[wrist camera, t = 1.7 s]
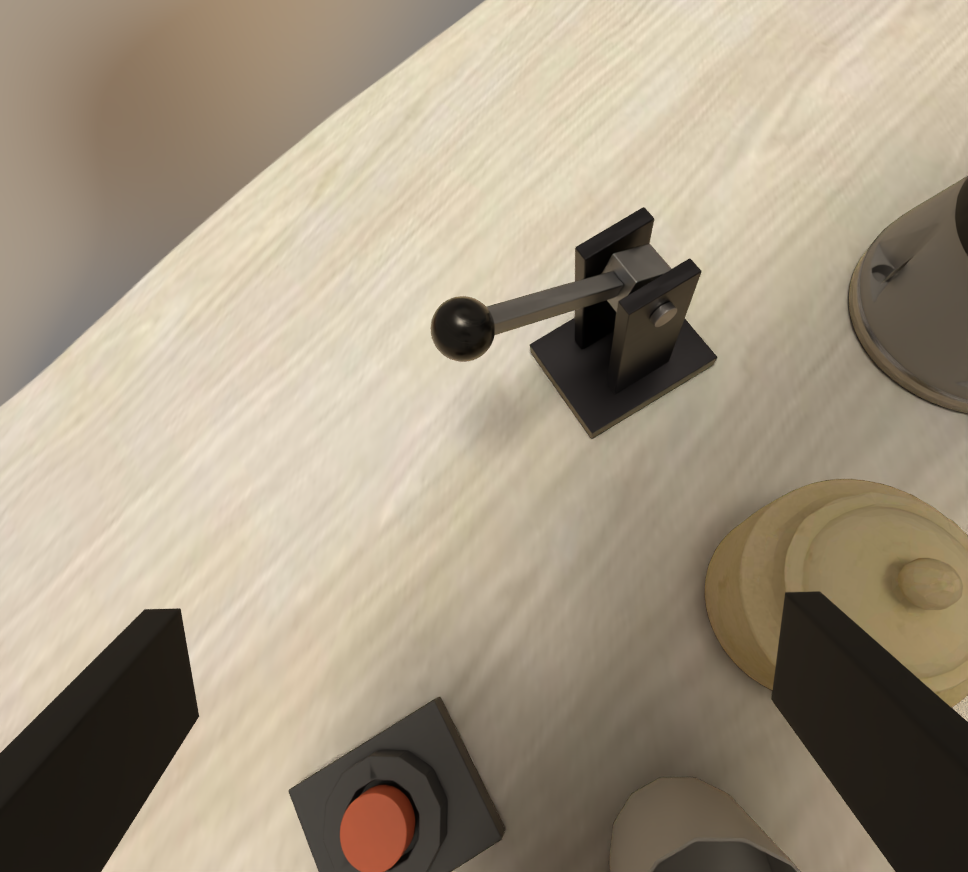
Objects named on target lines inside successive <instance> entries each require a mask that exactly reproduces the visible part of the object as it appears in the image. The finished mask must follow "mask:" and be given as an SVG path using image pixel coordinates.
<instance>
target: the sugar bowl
mask: <svg viewBox="0 0 968 872" xmlns="http://www.w3.org/2000/svg"><path fill="white" fill-rule="evenodd" d="M813 591H820V592H821V593H822V594H823V595H825V596H826V597H827V598H828V599H829V600H830V601H831V602H833V603H834V604H835V605H836V606H837V607H838V608H839V609H840V610H842V611H843V612H844V613H845V614H846V615H847V616H848V617H849V618H851V619H852V620H853V621H854V622H855V623H856V624H857V625H859V626H860V627H861V628H862V629H863V630H864V631H865V632H866V633H868V634H869V635H870V636H871V637H872V638H873V639H874V640H875V641H877V642H878V643H879V644H880V645H881V646H882V647H883V648H885V649H886V650H887V651H888V652H889V653H890V654H891V655H892V656H894V657H895V658H896V659H897V660H898V661H899V662H900V663H901V664H903V665H904V666H905V667H906V668H907V669H908V670H909V671H911V672H912V673H913V674H914V675H915V676H916V677H917V678H918V679H920V680H921V681H922V682H923V683H924V684H925V685H926V686H927V687H929V688H930V689H931V690H932V691H933V692H934V693H935V694H937V695H938V696H939V697H940V698H941V699H942V700H943V701H944V702H946V703H947V704H948V705H949V706H950V707H953V706H954V705H956V704H957V703H959V702H960V701H961V700H963V699H964V698H965V697H966V696H967V695H968V535H967V534H966V533H964V532H963V530H962V529H961V528H960V527H959V526H958V525H957V524H956V523H954V522H953V521H951V520H950V519H948V518H946V517H945V516H944V515H942V514H941V513H940V512H939V511H937V510H936V509H935V508H933V507H932V506H930V505H928V504H927V503H925V502H923V501H922V500H920V499H918V498H916V497H915V496H913V495H911V494H908V493H906V492H904V491H901V490H899V489H896V488H894V487H891V486H887V485H884V484H880V483H875V482H870V481H865V480H856V479H834V480H826V481H821V482H816V483H812V484H809V485H806V486H804V487H801V488H798V489H796V490H793V491H791V492H789V493H787V494H785V495H784V496H782V497H780V498H778V499H776V500H775V501H773V502H771V503H770V504H768V505H766V506H764V507H763V508H761V509H760V510H758V511H757V512H755V513H754V514H753V515H751V516H750V517H749V518H747V519H746V520H745V521H744V522H742V523H741V524H740V525H738V526H737V527H736V528H734V529H733V530H732V531H731V532H730V533H729V534H728V535H727V536H726V537H725V538H724V539H723V540H722V541H721V543H720V544H719V546H718V547H717V549H716V550H715V552H714V554H713V557H712V559H711V561H710V563H709V566H708V570H707V575H706V580H705V601H706V609H707V613H708V616H709V620H710V623H711V626H712V629H713V631H714V633H715V635H716V637H717V639H718V641H719V642H720V644H721V646H722V647H723V649H724V650H725V652H726V653H727V654H728V655H729V657H730V658H731V659H732V660H733V662H734V663H735V664H736V665H737V666H738V667H739V668H740V669H741V670H742V671H744V672H745V673H746V674H747V675H748V676H750V677H751V678H752V679H754V680H755V681H757V682H758V683H760V684H762V685H763V686H765V687H767V688H768V689H770V690H773V682H774V674H775V667H776V659H777V651H778V644H779V636H780V628H781V621H782V613H783V605H784V597H785V592H813Z"/></svg>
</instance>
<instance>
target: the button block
mask: <svg viewBox="0 0 968 872" xmlns="http://www.w3.org/2000/svg"><path fill="white" fill-rule="evenodd" d="M377 785H390V786H393V787H396V788H398V789H399V790H401V791H402V792H403V793H404V794H405V795H406V796H407V798H408V799H409V801H410V803H411V804H412V807H413V810H414V814H415V831H414V835H413V838H412V841H411V843H410V845H409V846H408V848H407V849H406V851H405V852H404V853H403V855H402V856H401V857H400V859H399V860H398V861H397V862H396V864H395V865H394V866H393V867H391V868H390V869H388V870H386V871H385V872H451V871H453V870H455V869H456V868H458V867H459V866H461V865H462V864H464V863H466V862H467V861H469V860H470V859H472V858H473V857H475V856H477V855H478V854H480V853H481V852H483V851H484V850H486V849H488V848H489V847H491V846H492V845H494V844H495V843H497V842H499V841H500V840H501V839H502V837H503V834H504V831H505V827H504V825H503V823H502V821H501V819H500V817H499V815H498V813H497V811H496V809H495V807H494V805H493V803H492V801H491V799H490V797H489V795H488V793H487V791H486V789H485V787H484V785H483V783H482V781H481V779H480V777H479V775H478V773H477V771H476V768H475V766H474V764H473V762H472V760H471V758H470V756H469V754H468V752H467V750H466V748H465V746H464V744H463V742H462V740H461V738H460V736H459V734H458V732H457V730H456V728H455V726H454V724H453V722H452V720H451V718H450V716H449V714H448V712H447V710H446V708H445V706H444V704H443V702H442V700H441V698H440V697H438V698H436V699H434V700H433V701H431V702H429V703H428V704H426V705H425V706H423V707H421V708H420V709H418V710H416V711H415V712H413V713H412V714H410V715H408V716H407V717H405V718H404V719H402V720H400V721H399V722H397V723H396V724H394V725H392V726H391V727H389V728H387V729H386V730H384V731H383V732H381V733H379V734H378V735H376V736H375V737H373V738H371V739H370V740H368V741H367V742H365V743H363V744H362V745H360V746H358V747H357V748H355V749H354V750H352V751H350V752H349V753H347V754H346V755H344V756H342V757H341V758H339V759H338V760H336V761H334V762H333V763H331V764H329V765H328V766H326V767H325V768H323V769H321V770H320V771H318V772H317V773H315V774H313V775H312V776H310V777H309V778H307V779H305V780H304V781H302V782H300V783H299V784H297V785H296V786H294V787H292V788H291V789H289V794H290V796H291V799H292V802H293V804H294V807H295V810H296V812H297V815H298V818H299V820H300V823H301V826H302V828H303V831H304V834H305V836H306V839H307V842H308V844H309V847H310V850H311V852H312V855H313V858H314V860H315V863H316V866H317V868H318V871H319V872H361V871H359V870H357V869H356V868H355V867H353V866H352V865H351V864H350V862H349V861H348V860H347V858H346V857H345V855H344V853H343V850H342V847H341V842H340V826H341V822H342V818H343V816H344V813H345V811H346V810H347V808H348V807H349V805H350V804H351V803H352V802H353V801H354V800H355V799H356V798H358V797H359V796H360V795H362V794H363V793H364V792H365V791H367V790H368V789H370V788H372V787H374V786H377Z"/></svg>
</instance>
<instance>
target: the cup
mask: <svg viewBox="0 0 968 872" xmlns="http://www.w3.org/2000/svg"><path fill="white" fill-rule="evenodd" d="M609 866H610V872H801V871H800V870H799V869H798V868H797V867H796V865H795V864H794V863H793V862H792V861H791V860H790V859H789V858H788V857H787V856H786V855H785V854H784V853H783V851H782V850H781V849H780V848H779V847H778V846H777V845H776V844H775V843H774V842H773V841H772V840H771V839H770V838H769V837H768V836H767V834H766V833H765V832H764V831H763V830H762V829H761V828H760V827H759V826H758V825H757V824H756V823H755V822H754V821H753V820H752V819H751V818H750V816H749V815H748V814H747V813H746V812H745V811H744V810H743V809H742V808H741V807H740V806H739V805H738V804H737V803H736V802H735V801H734V799H733V798H732V797H731V796H730V795H729V794H727V793H725V792H723V791H721V790H719V789H717V788H715V787H713V786H711V785H709V784H707V783H705V782H703V781H701V780H699V779H697V778H695V777H660V778H658V779H657V780H655V781H653V782H651V783H650V784H648V785H646V786H644V787H643V788H641V789H639V790H637V791H635V792H634V793H632V794H631V795H630V797H629V799H628V800H627V802H626V804H625V805H624V807H623V808H622V810H621V812H620V813H619V815H618V817H617V818H616V820H615V822H614V823H613V830H612V839H611V848H610V857H609Z"/></svg>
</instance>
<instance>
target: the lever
mask: <svg viewBox="0 0 968 872" xmlns="http://www.w3.org/2000/svg"><path fill="white" fill-rule="evenodd" d="M669 270H671V268H670V266H669V265H668V264H667V263H666V262H665V261H664V260H663V258H662V257H661V256H660V255H659V254H658V253H657V251H656V250H655V249H654V248H653V247H652V246H651V245H650V244H646V245H643V246H639V247H635V248H631V249H628V250H624V251H620V252H616V253H613V254H612V256H611V257H610V259H609V261H608V263H607V265H606V267H605V268H604V270H603V272H602V274H600V275H596V276H593V277H589V278H586V279H582V280H579V281H575V282H572V283H568V284H565V285H561V286H558V287H554V288H551V289H547V290H544V291H540V292H536V293H533V294H529V295H526V296H522V297H519V298H515V299H512V300H508V301H505V302H501V303H498V304H494V305H491V306H487V307H486V306H485V305H484V304H483V303H481V302H480V301H478V300H476V299H474V298H471V297H466V296H460V297H454V298H451V299H449V300H447V301H445V302H444V303H443V304H441V305H440V306H439V308H438V309H437V310H436V312H435V314H434V315H433V318H432V322H431V336H432V339H433V342H434V344H435V346H436V347H437V349H438V350H439V351H440V352H441V353H442V354H443V355H444V356H446V357H447V358H449V359H452V360H455V361H460V362H466V361H471V360H474V359H477V358H479V357H480V356H482V355H483V354H484V353H485V352H486V351H487V350H488V349H489V347H490V346H491V344H492V342H493V339H494V335H497V334H500V333H503V332H506V331H510V330H513V329H516V328H519V327H522V326H526V325H529V324H532V323H535V322H538V321H542V320H545V319H548V318H551V317H554V316H558V315H561V314H564V313H567V312H570V311H574V310H577V309H580V308H583V307H586V306H590V305H593V304H596V303H599V302H602V301H606V300H607V301H608V302H609V303H610V305H611V306H612V307H613V309H614V310H615V311H616V312H617V306H618V301H619V300H621V299H623V298H624V297H626V296H628V295H629V294H631V293H633V292H634V291H636V290H638V289H639V288H641V287H643V286H644V285H646V284H648V283H649V282H651V281H653V280H654V279H656V278H658V277H659V276H661V275H663V274H664V273H666V272H668V271H669Z"/></svg>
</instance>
